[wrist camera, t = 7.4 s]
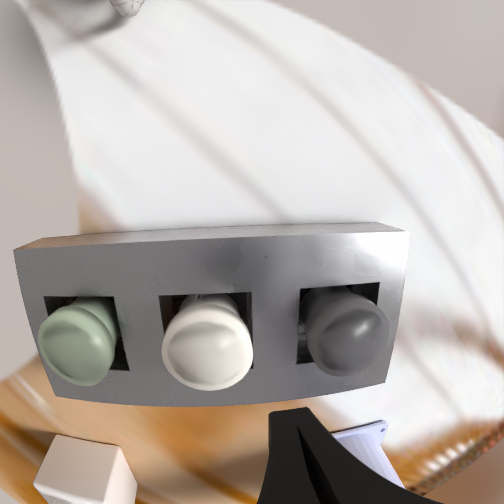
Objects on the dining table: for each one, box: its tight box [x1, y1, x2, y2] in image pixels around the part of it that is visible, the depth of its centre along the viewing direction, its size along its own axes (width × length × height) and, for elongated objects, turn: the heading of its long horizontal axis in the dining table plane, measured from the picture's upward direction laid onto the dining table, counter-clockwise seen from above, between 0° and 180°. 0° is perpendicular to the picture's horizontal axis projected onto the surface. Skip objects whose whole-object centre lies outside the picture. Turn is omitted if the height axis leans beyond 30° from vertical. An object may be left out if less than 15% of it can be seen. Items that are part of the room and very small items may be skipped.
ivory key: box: [162, 293, 253, 391], centre depth 15 cm, size 4×4×4 cm
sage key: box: [38, 296, 121, 386], centre depth 14 cm, size 4×4×4 cm
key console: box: [13, 223, 409, 407], centre depth 17 cm, size 10×22×4 cm, turn 91°
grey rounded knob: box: [299, 285, 389, 377], centre depth 16 cm, size 4×4×4 cm
